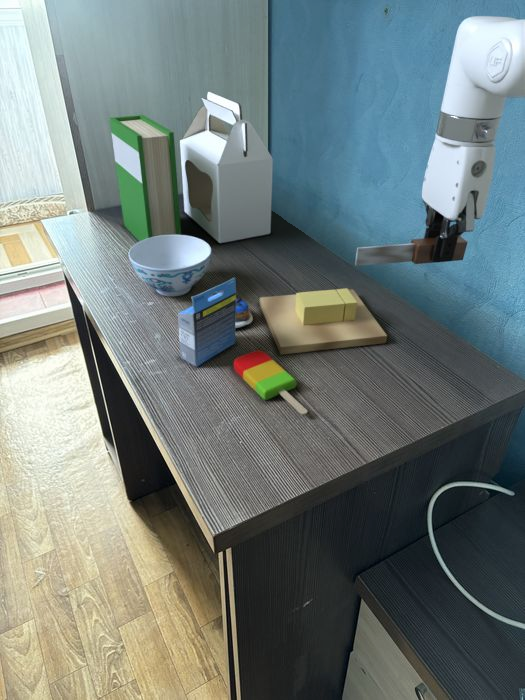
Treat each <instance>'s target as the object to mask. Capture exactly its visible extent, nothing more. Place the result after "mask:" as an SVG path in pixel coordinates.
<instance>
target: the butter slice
mask: <svg viewBox="0 0 525 700" xmlns="http://www.w3.org/2000/svg"><path fill="white" fill-rule="evenodd" d="M335 290H336V291H337V293H338V294H339V296H340V297H341V299H342V300H343V302H344V303H345V306H344V313H343V321H350V320H355V315H356V308H357V301H356V300H355V299H354V297H353V296H352V294H351V293H350V292H349V290H350V289H349V288H347V287H346V288H345V287H344V288H337V289H336V288H335Z"/></svg>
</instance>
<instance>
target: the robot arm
mask: <svg viewBox="0 0 525 700" xmlns="http://www.w3.org/2000/svg"><path fill="white" fill-rule="evenodd" d="M453 43H454V44H453V48H452V52H451V53H452V54H451V59H450V64H449V68H448V73H447V76H446V77H447V78H446V82H445V88H444V92H443V97H442V101H441V107H440V112H439V116H438V121H437V125H436V131H435V134H434V135H435V136H434V138H435V139H434V141H433V144H432V147H431V151H430V154H429V158H428V160H427V164H426V169H425V171H424V177H423V181H422V187H421V198H422V203H423V205H424V207H425V212H426V218H425V222H424V223H425V227H426V228H425V232H424V236H423V238H436V241H435V246H434V250H433V254H432V258H431V260H432V261H433V262H434V263H435V264H437V263H448V262H452V261H451V260H452V259H453V255H454V251H455V247H456V243H457V240H458V238H460V237H462V235H463V234H464V233H472V232H474V231H475V220H481V219H482V217H483V216H484V212H485V210H486V206H487V202H488V198H489V194H490V190H491V184H492V180H493V174H494V167H495V160H496V159H495V158H496V145H494V144H495V141H496V137H497V132H498V129H499V126H500V122H501V119H502V115H503V111H504V107H505V104H506V101H507V99H519V98H521V99H522V98H525V19H524V18H523V19H522V18H521V19H517V18H514V17H509V16H496V15H495V16H493V15H476V16H470V17H467V18H465V19H463V21H461V23H460V24H459V26H458V28H457V31H456V35H455V38H454V42H453ZM451 223H453V224H451Z"/></svg>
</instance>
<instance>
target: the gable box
mask: <svg viewBox="0 0 525 700" xmlns="http://www.w3.org/2000/svg"><path fill="white" fill-rule="evenodd" d="M206 97H207V98H205V97H203V96H202V97H201V100H202V102H203V105H202V106H201V107H199V109H198V111H197V112H196V114H195V115H194V117H193V119H192V121H191V123H190V124H189V126H188V127H187V129H186V131H185V133H184V134H183V136H182V138H181V139H180V140H179V148H180V150H179V151H180V162H181V163H180V164H181V179H182V180H181V181H182V193H183V195H182V197H183V207H184V209H183V211H184V213H185V214H187V215H188V216H189V217H190V218H191V219H192V220H193V221H194V222H195V223H197V224H198V225H199V226H200V227H201V229H203V230H204V231H205V232H207V234H208V235H210V236H211V237H212V238H213V239H214V240H215V241H217V242H218V244H224V243H231V242H236V241H241V240H245V239H251V238H256V237H262V236H267V235H271V226H272V202H273V201H272V199H273V171H274V170H273V167H274V157H273V156H272V154H270V152H269V150H268V148H267V147H266V145H265V143H264V142H263V140H262V139H261V137H260V135H258V133H257V131H256V129H255V128H254V126H253V124H252V123H251V122H250V121H248V120H247V119H243V112H242V105H241V103H239V102H237V101H235V100H233V99H230V98H228V97H225V96H223V95H220V94H217V93H216V92H213V91H208V92H207V96H206ZM224 122H225V123H227V124H230V125H232V126H231V129H230V131H228V129H227V127H226V124H225V123H224Z"/></svg>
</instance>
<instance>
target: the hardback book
mask: <svg viewBox="0 0 525 700" xmlns="http://www.w3.org/2000/svg"><path fill="white" fill-rule="evenodd" d="M108 119H109V126H110V133H111V141H112V147H113V148H112V149H113V155H114V162H115V168H116V175H117V183H118V191H119V199H120V205H121V213H122V219H123V226H124V227H125V228H126V229H127V230H128V231H129V233H131V234H132V236H134V237H135V239H136V240H137V241H138V242H140V241H142V240H144V239H147V238H151V237H155V236H161V235H182V229H181V228H182V226H181V213H180V199H179V185H178V173H177V160H176V159H177V158H176V147H175V133H174V131H172V130H170V129H169V128H167V127H166V126H164V125H162V124H160V123H158V122H156V121H154V120H152V119H151V118H149V117H147V116H146V115H144V114H137V115H126V116H115V117H114V116H113V117H109V118H108Z"/></svg>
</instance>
